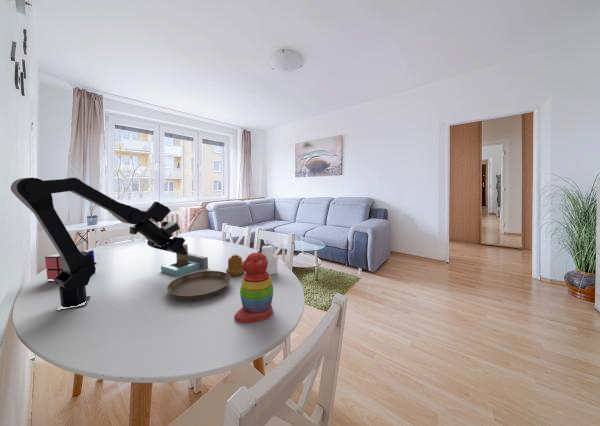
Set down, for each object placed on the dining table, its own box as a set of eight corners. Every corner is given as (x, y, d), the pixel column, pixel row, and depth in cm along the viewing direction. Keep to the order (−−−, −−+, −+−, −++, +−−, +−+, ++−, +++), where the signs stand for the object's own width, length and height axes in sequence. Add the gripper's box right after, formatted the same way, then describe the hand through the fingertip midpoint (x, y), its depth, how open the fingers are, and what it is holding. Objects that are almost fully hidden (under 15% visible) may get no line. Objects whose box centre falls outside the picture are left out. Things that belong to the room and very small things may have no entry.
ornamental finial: (231, 269, 101) (247, 270, 100) (223, 276, 94) (240, 277, 93) (230, 252, 100) (246, 253, 99) (222, 257, 93) (240, 258, 92)
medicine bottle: (256, 270, 100) (256, 244, 99) (272, 268, 103) (272, 242, 102) (261, 276, 94) (260, 247, 92) (277, 273, 97) (277, 246, 95)
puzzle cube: (72, 282, 87) (69, 257, 86) (46, 282, 87) (43, 256, 86) (96, 273, 97) (94, 250, 96) (73, 272, 97) (70, 249, 96)
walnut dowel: (185, 271, 99) (184, 246, 98) (175, 271, 99) (173, 246, 98) (190, 267, 104) (189, 244, 103) (180, 267, 104) (179, 243, 102)
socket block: (176, 276, 93) (176, 270, 93) (161, 271, 99) (160, 265, 98) (200, 268, 103) (199, 262, 102) (184, 264, 108) (184, 259, 108)
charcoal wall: (204, 269, 102) (203, 258, 101) (182, 263, 110) (181, 253, 109) (208, 267, 103) (207, 257, 103) (186, 262, 111) (185, 252, 111)
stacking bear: (245, 302, 72) (244, 247, 70) (277, 304, 71) (276, 248, 69) (231, 322, 62) (230, 257, 60) (268, 324, 60) (267, 259, 59)
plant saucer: (210, 307, 70) (209, 297, 69) (152, 300, 74) (151, 290, 73) (240, 281, 90) (240, 272, 89) (194, 276, 94) (193, 269, 93)
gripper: (179, 217, 89) (204, 240, 100) (153, 214, 98) (178, 235, 109) (159, 241, 83) (188, 262, 93) (133, 235, 92) (163, 255, 103)
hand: (179, 252), depth 100 cm, fingers open, 9 cm apart
